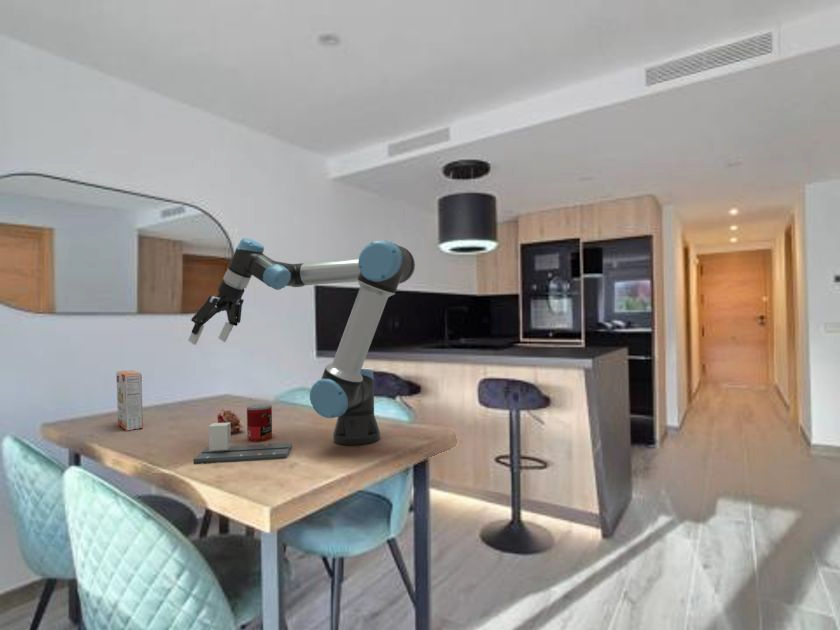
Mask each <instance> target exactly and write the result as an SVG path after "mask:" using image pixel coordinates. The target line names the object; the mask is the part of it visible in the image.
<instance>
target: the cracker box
mask: <svg viewBox="0 0 840 630" xmlns="http://www.w3.org/2000/svg"><path fill="white" fill-rule="evenodd" d="M115 374H116V398H117V399H116V400H117V405H116V406H117V424H118V426H119V427H120V426H121V428H122V429H123V430H124V429H125V430H126V431H125V432H128V431H127V430H131V431H135V430H134V429H136V430H141V429H140V428H142V429H143V428H144V422H143V421H144V420H143V419H144V418H143V385H142V381H143V380H142V378H143V377H142V373H141V372H137V371H135V370H121V371H116V373H115Z"/></svg>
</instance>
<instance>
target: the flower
mask: <svg viewBox="0 0 840 630" xmlns="http://www.w3.org/2000/svg"><path fill="white" fill-rule="evenodd" d="M241 421H242V419H241V418H240V416H239V415H238V414H237V413H235V411H232V410H225V409H221V410H220V412H219V413H218V415H217V423H228V422H231V433H233V432H235V431H236V432H237V431H238V432H239V431H240V429H242V428H244V426H243V425H242V424H241Z"/></svg>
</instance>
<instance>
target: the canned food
mask: <svg viewBox="0 0 840 630" xmlns="http://www.w3.org/2000/svg"><path fill="white" fill-rule="evenodd" d="M272 414H273V407H272V404H269V403H255V404H249V405H247V406H246V424H247V425H246V426H247V427H246V430H247V436H246V437H247V439H248V441H249V440H250V441H249V442H255V441H257V442H265V441H268V440H270V439H271V438H272V436H273V415H272Z"/></svg>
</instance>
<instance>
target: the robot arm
mask: <svg viewBox="0 0 840 630" xmlns="http://www.w3.org/2000/svg"><path fill="white" fill-rule="evenodd" d="M264 249H265V247H264V245H262V244H261V243H260V242H258V241H256V240H253V239H251V238H247V237H242V238H241V239H240V241H239V243H238V245H237V247H236V248H235V250H234V253H233V256H232V258H231V260H230V263H229V264H228V267H227V270H226V271H225V273H224V274H223V275H224V276H223V280H221V281H220V284H219V286H218V289H217V291H218V295H217V296H214V295H213V294H211V295H209V297H208V299H207V300H206V302H204V304H203V305H202V306H201V307H200V309H199V310H198V311H197V312H196V313H195V314H194V315H193V316H192V317H191V318H190V320H191V322H193V323H194V326H193V327H192V330H191V333H190V335H189V338H188V340H187V341H189V342H190V343H191V344H192V345H194V346H195V345H197V343H198V341H199V339H200V337H201V335H202V333H203V331H204V328H205V324H206V323H207V322H208V321H209V320H211V319H212V318H213V317H214V316H215V315H216V314H217V313H221V312H223V311H225V312H226V315H227V321H225V322H224V325H223V327H222V329H221V331H220V333H219V336H218V339H219V340H221V341H222V342H223V343H226V342H227V340H228V337H229V335H230V334H231V332H232V330H233V328H234V326H235V327H237V326H238V325H239V324H240V323H241V319H242V310H243V309H242V307H243V304H244V301H245V300H244V298H242V297H243V295H244V293H245V291H246V290H245V289H247V288H248V285H249V282H250V280H251V278H252V276H253V277H254V278H256V279H257V280H258V281H260V282H262V283H263V284H265V285H266V286H268V287H270V288H272V289H273V290H276V291H280V290H281V289H284V288H286V287H292V288H303V287H304V286H315V285H329V284H343V283H356V282H358V285H359V290H358V292H357V295H356V297H355V300H354V302H353V306H352V309H351V312H350V315H349V317H348V320H347V323H346V326H345V328H344V331H343V334H342V336H341V340H340V342H339V345H338V347H337V350H336V353H335V356H334V357H333V361H332V362H331V363H329V364H327V365H325V368H324V370H323V373H322V375H321V378H320V379H319V380H317V381H316V382H314V384H313V385H312V386H311V389H310V392H309V401H310V404H311V405H312V408H313V409H314V411H315V412H316V413H317V414H318V415H319V416H322V417H323V418H326V419H334V418H337V420H336V424H335V428H334V430H333V434H332V436H333V437H332V441H333V442H334V443H336V444H338V445H343V446H344V445H346V446H360V445H367V444H371V443H375V442H378V441H379V440H380V439H381V432H380V431H381V430H380V428H379V425H378V422H377V419H376V416H375V388H374V387H375V385H374V384H375V383H374V382H375V377H374V372H373V370H372V369H367V368H363V366H364V364H365V361H366V357H367V355H368V353H369V349H370V348H371V347H370V346H371V345H372V341H373V339H374V336H375V333H376V331H377V328H378V326H379V322H380V320H381V317H382V315H383V313H384V309H385V306H386V304H387V302H388V300H389V299H388V298H390V297H391V296H394V295H396V292H397V290H398V288H399V285H400V284H403V283H406V282H407V281H408V280H410V278H411V277H412V275H413V274H414V272H415V268H416V267H415V266H416V263H415V258H414V256H413V254H412V252H410V251H409V249H407V248H406V247H403V246H401V245H398V244H396V243H394V242H392V241H388V240H382V239H380V240H379V239H378V240H373V241H371V242H369V243H368V244H366V245H365V246H364V247H363V249H362V250H361V252H360V253H359V256H358V257H356V258H355V257H354V258H346V259H334V260H333V259H332V260H326V261H325V260H323V261H315V262H314V261H313V262H304V263H303V262H301V263H288V262H281V261H276V260H273V259H272V258H271V257H268V256H267V255H265V254H264Z"/></svg>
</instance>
